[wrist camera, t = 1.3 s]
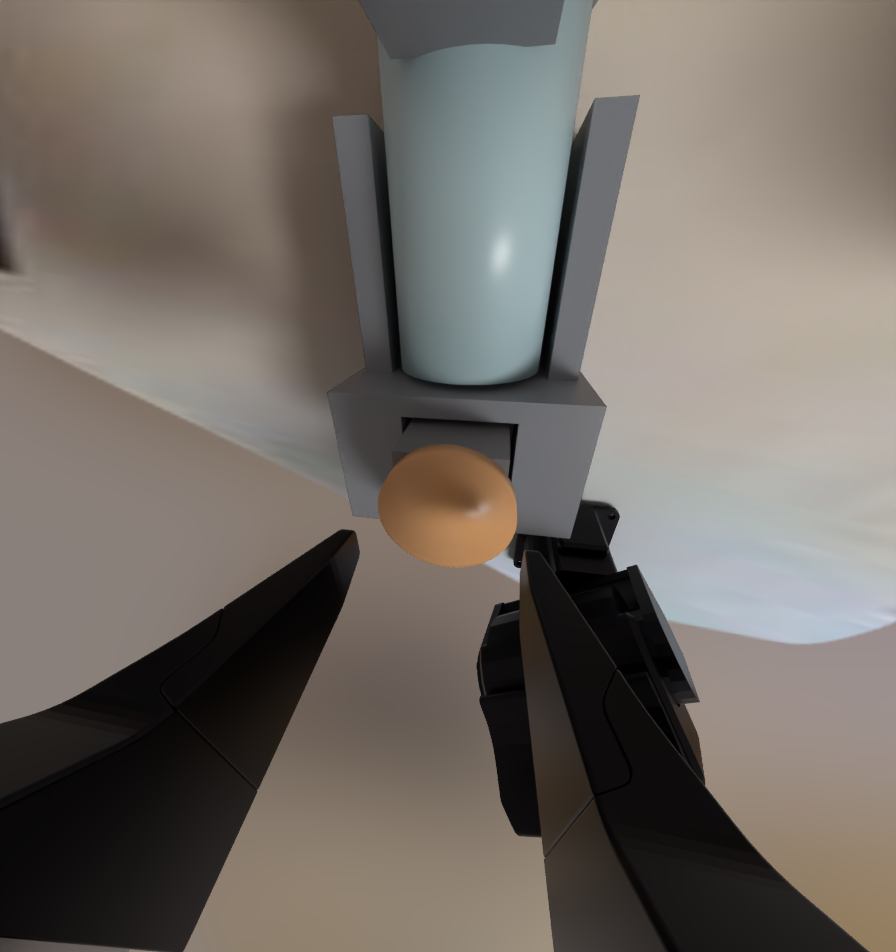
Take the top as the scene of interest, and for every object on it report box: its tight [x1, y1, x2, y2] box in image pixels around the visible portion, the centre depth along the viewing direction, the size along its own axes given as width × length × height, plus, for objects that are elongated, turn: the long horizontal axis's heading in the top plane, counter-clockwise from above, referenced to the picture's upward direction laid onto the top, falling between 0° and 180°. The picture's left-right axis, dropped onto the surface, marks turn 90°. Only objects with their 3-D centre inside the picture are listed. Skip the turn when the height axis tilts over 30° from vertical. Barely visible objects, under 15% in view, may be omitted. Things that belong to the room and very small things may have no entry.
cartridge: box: [358, 0, 598, 385], centre depth 10 cm, size 11×7×10 cm, turn 0°
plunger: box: [378, 417, 517, 567], centre depth 12 cm, size 5×5×4 cm
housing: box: [327, 95, 640, 539], centre depth 14 cm, size 14×10×8 cm
